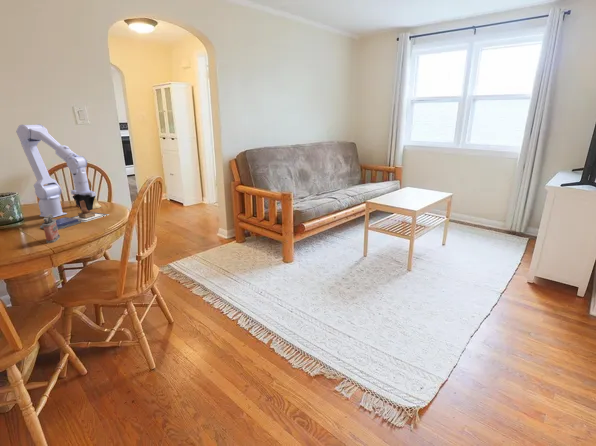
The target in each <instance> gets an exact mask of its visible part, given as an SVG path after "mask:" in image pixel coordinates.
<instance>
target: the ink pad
mask: <svg viewBox="0 0 596 446" xmlns="http://www.w3.org/2000/svg"><path fill="white" fill-rule="evenodd" d="M43 223H44V222H43ZM43 223H41V224H43ZM78 224H82V221H79V220H78V219H75V218H71V217H66V216H64V217H61V218H57V219H56V225H57V229H58V231H59V230H62V229H65V228H69V227H72V226H75V225H78ZM39 227H40V229H43V230H44V227H43V226H42V225H40V226H39Z"/></svg>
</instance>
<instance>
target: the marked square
mask: <svg viewBox="0 0 596 446" xmlns="http://www.w3.org/2000/svg"><path fill="white" fill-rule="evenodd" d="M106 215H107V216H109V215H110V214H108V213H100V212H95V216H94V217H90V218H87V219H85V218H79V216H78V215H76V216H72V217H70V218H75V219H78V220H79V221H81V223H86V222H90V221H93V220H96V219H100V218H103V216H104V217H106Z"/></svg>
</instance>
